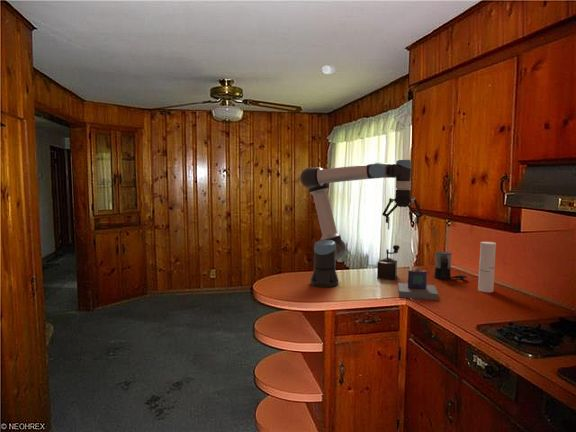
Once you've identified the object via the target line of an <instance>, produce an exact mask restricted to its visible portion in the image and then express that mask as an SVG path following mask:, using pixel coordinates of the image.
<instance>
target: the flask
mask: <svg viewBox="0 0 576 432" xmlns="http://www.w3.org/2000/svg"><path fill="white" fill-rule="evenodd" d="M407 273H408V274H407V275H408V277H407V278H408V279H407V284H408V288H409V289H426V288H427V285H428V284H427V281H428V271H427V270H421V268H420V267H418V266H417V268H416V269H409V270H408V272H407Z"/></svg>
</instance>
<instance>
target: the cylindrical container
mask: <svg viewBox="0 0 576 432" xmlns="http://www.w3.org/2000/svg"><path fill="white" fill-rule="evenodd" d="M479 247H480V250H479V264H478V265H479V266H478V281H477V283H478V284H477V286H478V287H477V291H479V292H483V293H493V292H494V287H495V285H494V284H495V271H496V269H495V266H496V255H497V254H496V251H497V243H496V242H493V241H480V246H479Z"/></svg>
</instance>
